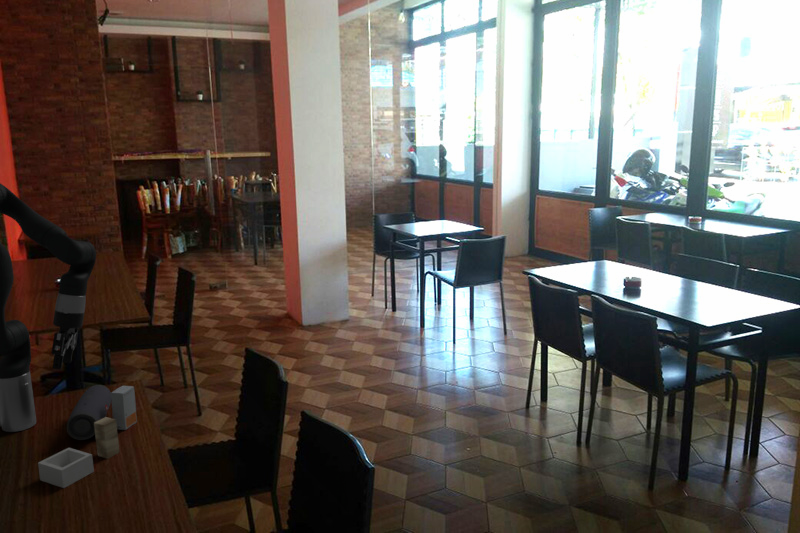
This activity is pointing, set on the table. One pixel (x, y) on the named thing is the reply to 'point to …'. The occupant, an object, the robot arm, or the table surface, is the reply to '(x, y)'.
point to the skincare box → (124, 407)
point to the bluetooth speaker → (89, 412)
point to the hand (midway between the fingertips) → (61, 365)
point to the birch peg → (106, 437)
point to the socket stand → (66, 467)
